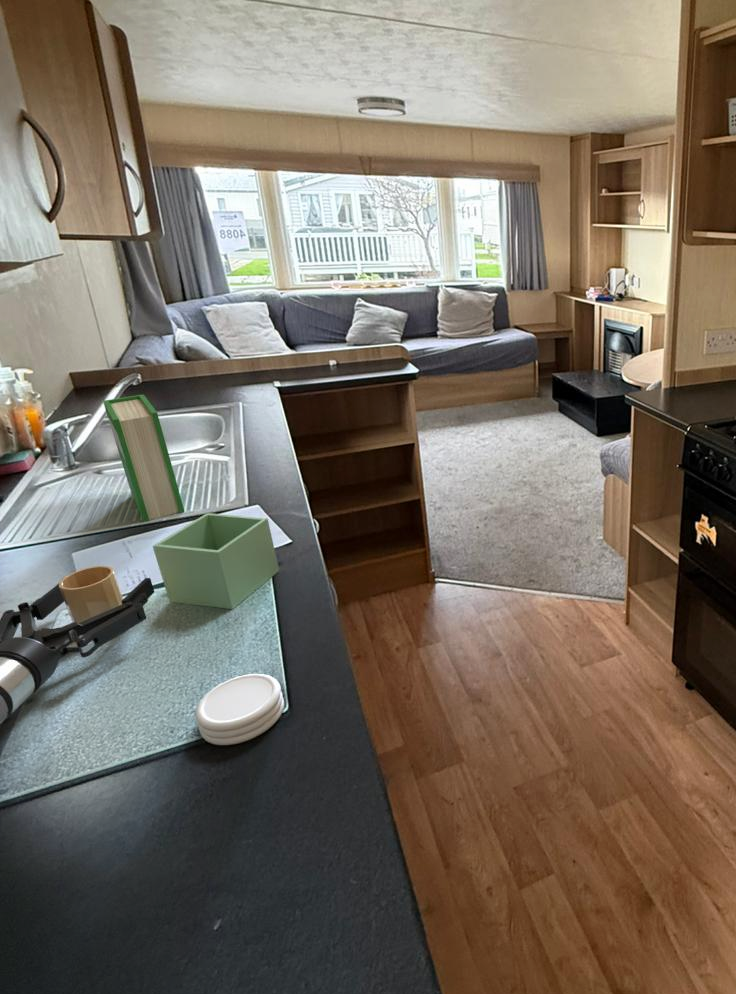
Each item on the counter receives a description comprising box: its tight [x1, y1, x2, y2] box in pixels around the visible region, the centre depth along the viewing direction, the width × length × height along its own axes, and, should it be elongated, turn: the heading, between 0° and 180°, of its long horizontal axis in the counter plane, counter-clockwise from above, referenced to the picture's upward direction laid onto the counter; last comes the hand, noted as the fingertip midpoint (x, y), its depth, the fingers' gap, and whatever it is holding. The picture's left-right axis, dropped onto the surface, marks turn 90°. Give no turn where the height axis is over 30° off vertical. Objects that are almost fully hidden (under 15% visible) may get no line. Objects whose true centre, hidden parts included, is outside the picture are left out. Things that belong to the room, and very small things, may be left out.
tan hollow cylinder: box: [58, 565, 125, 639], centre depth 102 cm, size 7×7×10 cm
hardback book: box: [102, 394, 186, 523], centre depth 141 cm, size 18×7×24 cm, turn 41°
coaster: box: [195, 673, 285, 746], centre depth 86 cm, size 10×10×4 cm
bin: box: [152, 512, 280, 610], centre depth 114 cm, size 12×12×11 cm
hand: (108, 586), depth 105 cm, fingers open, 12 cm apart
